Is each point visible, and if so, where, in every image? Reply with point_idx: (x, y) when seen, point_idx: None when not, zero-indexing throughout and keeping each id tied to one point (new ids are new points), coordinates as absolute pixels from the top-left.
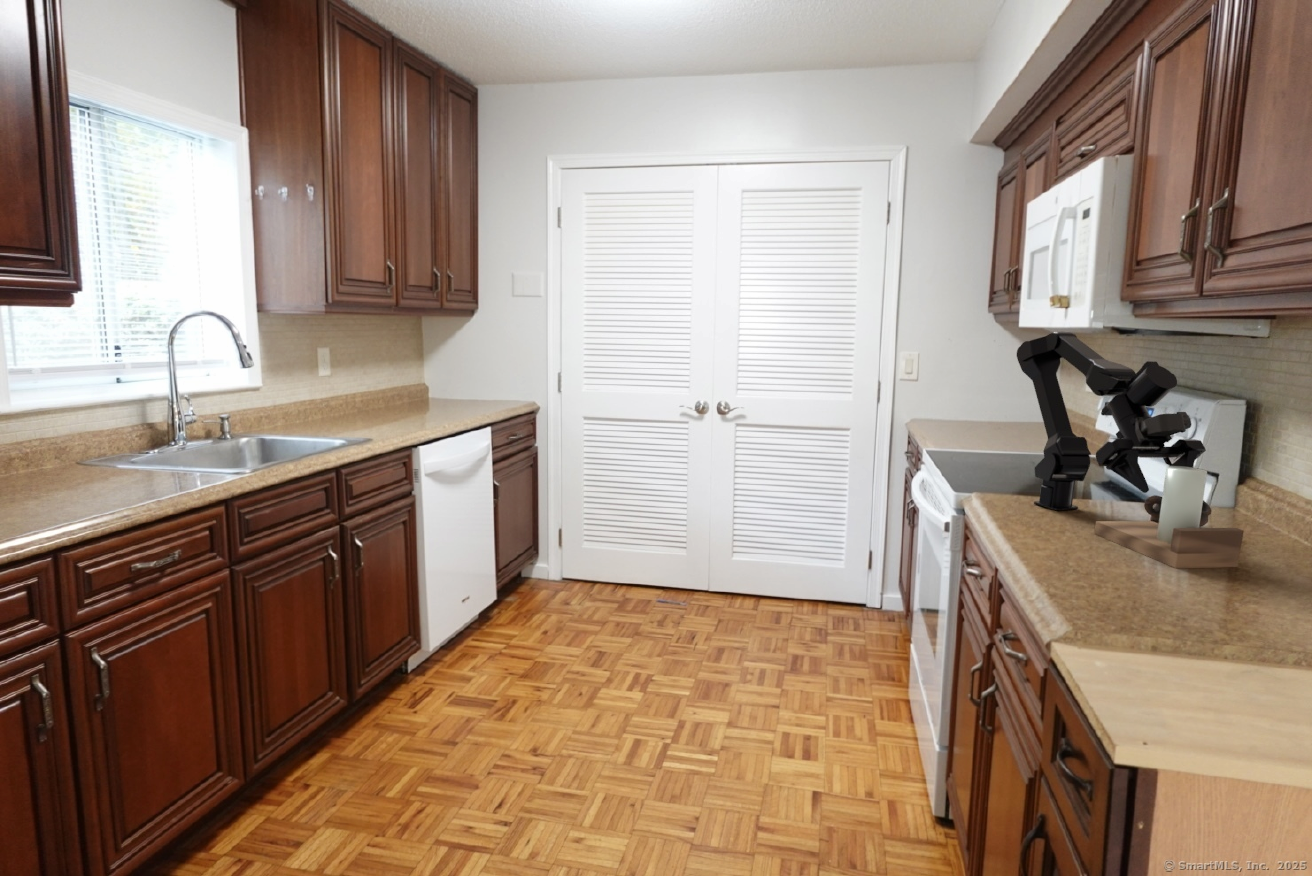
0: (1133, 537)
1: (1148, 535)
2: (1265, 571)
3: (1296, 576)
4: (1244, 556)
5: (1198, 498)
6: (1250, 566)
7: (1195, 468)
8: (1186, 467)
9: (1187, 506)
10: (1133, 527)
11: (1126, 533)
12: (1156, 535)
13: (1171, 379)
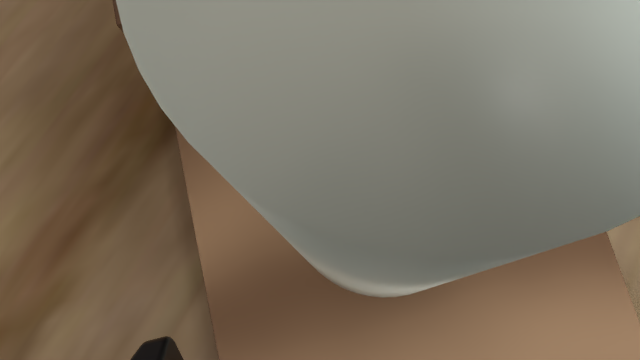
0: (606, 245)
1: (504, 283)
2: (93, 39)
3: (7, 2)
4: (24, 259)
5: None
6: (111, 97)
7: (193, 53)
8: (333, 119)
9: None
10: None
11: (631, 304)
12: (449, 298)
13: None
